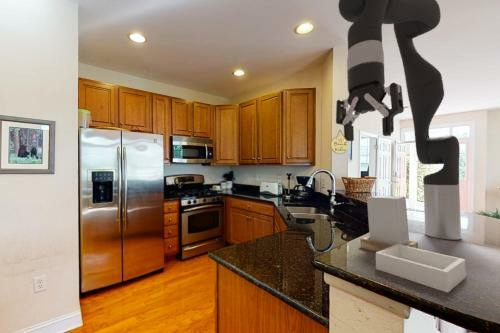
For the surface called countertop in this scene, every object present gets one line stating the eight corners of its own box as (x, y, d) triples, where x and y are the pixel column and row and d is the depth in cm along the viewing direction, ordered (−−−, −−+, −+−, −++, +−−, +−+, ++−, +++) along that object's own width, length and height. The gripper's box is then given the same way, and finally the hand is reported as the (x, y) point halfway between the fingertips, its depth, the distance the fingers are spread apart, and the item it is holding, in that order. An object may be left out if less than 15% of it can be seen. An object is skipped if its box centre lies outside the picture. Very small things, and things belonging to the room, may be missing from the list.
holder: (376, 241, 71) (376, 233, 71) (418, 251, 62) (417, 242, 62) (360, 247, 66) (360, 238, 66) (403, 258, 57) (402, 248, 57)
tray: (398, 258, 57) (397, 244, 57) (465, 277, 47) (465, 259, 47) (376, 268, 51) (375, 252, 51) (447, 292, 41) (447, 272, 41)
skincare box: (410, 251, 62) (408, 196, 63) (399, 256, 59) (398, 198, 59) (378, 243, 69) (377, 194, 70) (367, 247, 66) (366, 195, 66)
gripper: (407, 59, 49) (410, 135, 48) (346, 81, 60) (348, 143, 60) (390, 49, 44) (392, 132, 44) (328, 75, 56) (329, 141, 56)
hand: (367, 138), depth 52 cm, fingers open, 8 cm apart
